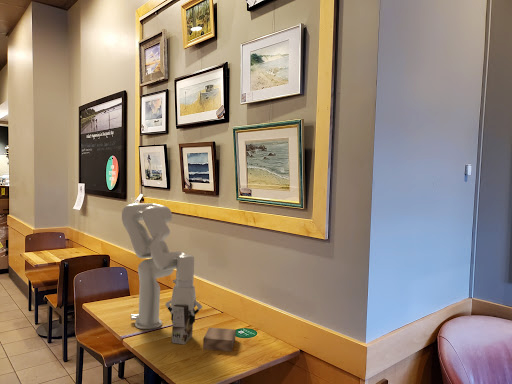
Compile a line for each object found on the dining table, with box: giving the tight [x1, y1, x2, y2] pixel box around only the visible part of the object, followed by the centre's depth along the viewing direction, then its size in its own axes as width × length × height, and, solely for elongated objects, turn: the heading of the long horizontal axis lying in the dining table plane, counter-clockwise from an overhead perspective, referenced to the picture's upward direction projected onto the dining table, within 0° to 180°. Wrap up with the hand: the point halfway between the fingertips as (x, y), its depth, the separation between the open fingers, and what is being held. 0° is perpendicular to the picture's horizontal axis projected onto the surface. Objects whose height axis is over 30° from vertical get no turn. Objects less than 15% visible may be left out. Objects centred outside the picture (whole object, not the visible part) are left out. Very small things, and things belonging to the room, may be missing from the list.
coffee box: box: [171, 305, 194, 345], centre depth 170 cm, size 9×6×16 cm
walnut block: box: [202, 327, 237, 352], centre depth 167 cm, size 12×12×5 cm
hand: (183, 322), depth 170 cm, fingers open, 7 cm apart
